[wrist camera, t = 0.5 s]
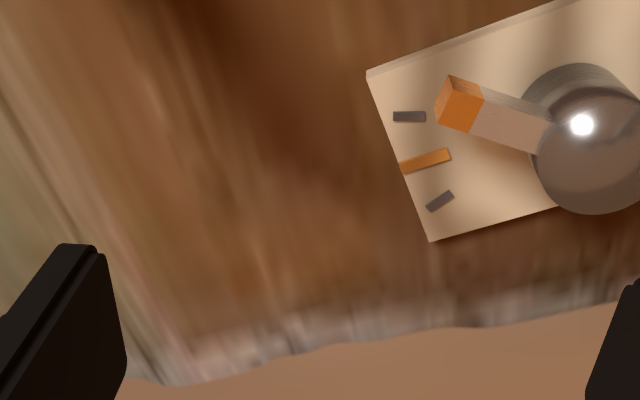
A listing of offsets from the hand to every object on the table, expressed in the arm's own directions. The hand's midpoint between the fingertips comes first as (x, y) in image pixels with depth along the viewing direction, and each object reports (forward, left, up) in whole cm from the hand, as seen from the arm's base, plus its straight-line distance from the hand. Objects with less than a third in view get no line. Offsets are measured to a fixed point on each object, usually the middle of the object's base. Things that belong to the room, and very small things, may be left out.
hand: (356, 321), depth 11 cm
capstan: (-9, +10, -24) cm, 27 cm away
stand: (-9, +10, -25) cm, 29 cm away
